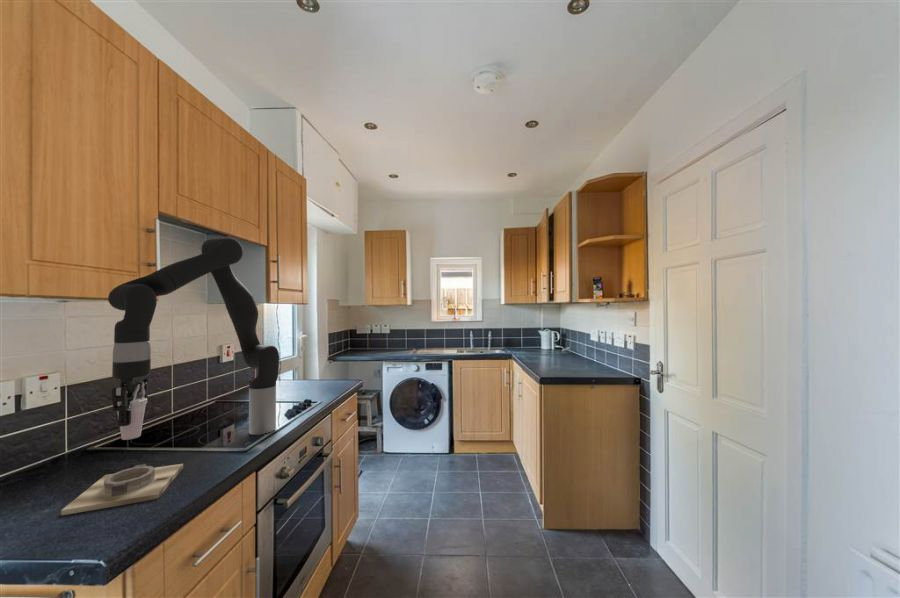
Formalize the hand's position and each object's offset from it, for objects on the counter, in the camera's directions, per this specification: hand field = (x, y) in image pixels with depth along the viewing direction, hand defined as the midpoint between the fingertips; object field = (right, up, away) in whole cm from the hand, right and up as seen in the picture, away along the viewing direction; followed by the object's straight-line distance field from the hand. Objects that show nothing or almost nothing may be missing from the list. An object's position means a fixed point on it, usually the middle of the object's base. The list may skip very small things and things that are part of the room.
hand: (131, 421), depth 91 cm
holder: (0, -18, -1) cm, 18 cm away
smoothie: (0, -4, 0) cm, 4 cm away
